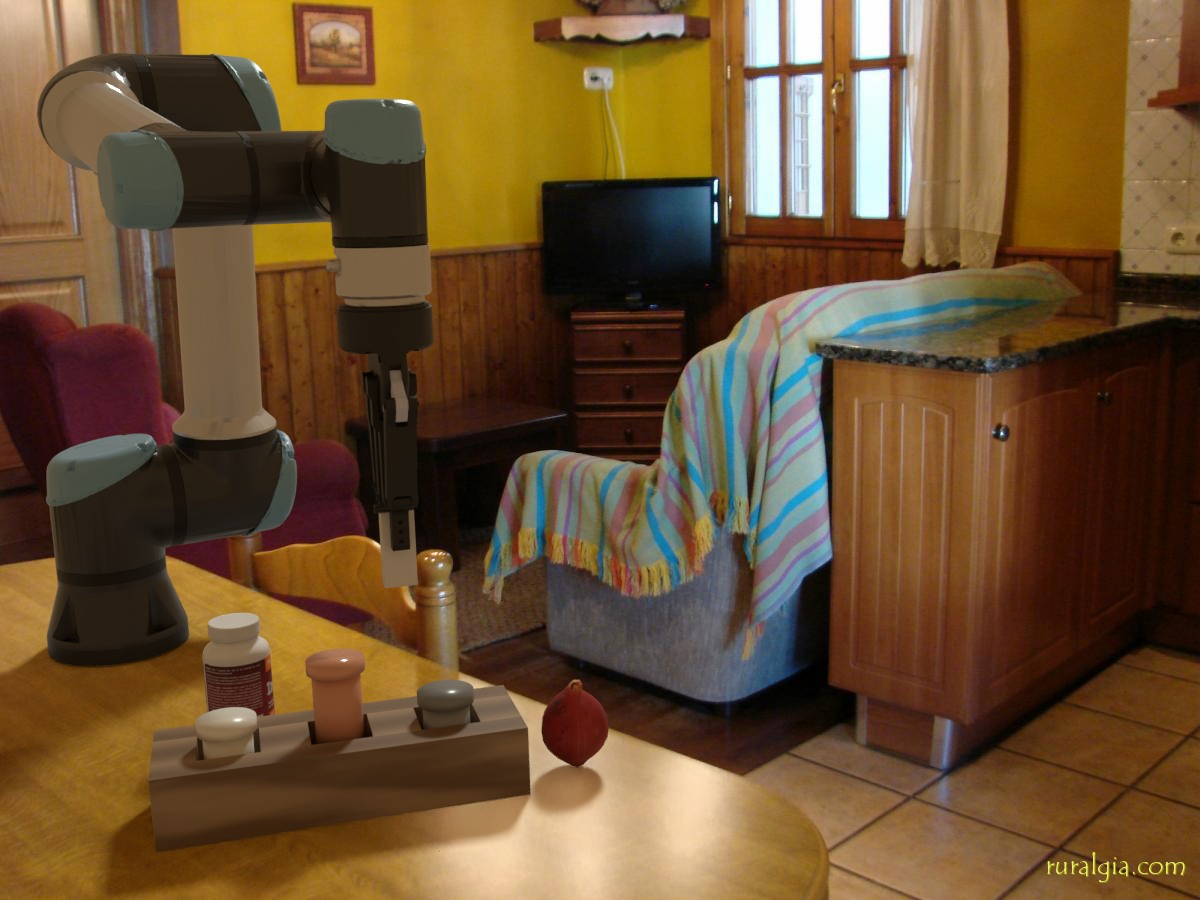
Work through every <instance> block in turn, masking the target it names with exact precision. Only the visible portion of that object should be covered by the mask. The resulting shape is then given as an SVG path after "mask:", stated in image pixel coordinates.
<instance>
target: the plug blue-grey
mask: <svg viewBox="0 0 1200 900" xmlns="http://www.w3.org/2000/svg"><path fill="white" fill-rule="evenodd" d="M474 689H475V688H474V686H473V685H472V684H471V683H470V682H467V681H465V680H464V681H463V680H459V679H441V680H439V679H438V680H435V681H431V682H428V683H425V684H423V685H422V686H421V685H420V687H419V688H417V690H416V696H417V704H418V706H419V707H420V708H421V709H423V727H424V730H425V729H432V728H440V727H447V726H454V725H461V724H469V723H470V705H471V704H472V703H473V702H474Z"/></svg>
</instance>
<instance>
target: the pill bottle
mask: <svg viewBox="0 0 1200 900" xmlns="http://www.w3.org/2000/svg"><path fill="white" fill-rule="evenodd" d="M260 632H261V624H260V618H259V616H258V615H256V614H255V613H251V612H233V613H232V612H231V613H226V614H222V615H218V616H215V617H213V618H211V619H210V620H209V621H208V622H207V635H208V638H209V640H211V641H210V642H208V643H207V644H206V646H204V648H203V651H202V655H201V656H202V666H203V667H202V668H203V670H202V671H203V679H204V689H205V690H204V692H205V699H206V701H205V702H206V713H207V712H210V711H213V710H217V709H221V708H229V707H243V708H248V709H251V710H253V711H255V713H256V715H257V717H261V716H268V715H276V708H275V707H276V706H275V697H274V686H273V673H272V658H271V648H270V644H269V643H268V641H267V640H266V639H265V638H263V637H262V636H259V634H260Z"/></svg>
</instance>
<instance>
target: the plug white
mask: <svg viewBox="0 0 1200 900" xmlns="http://www.w3.org/2000/svg"><path fill="white" fill-rule="evenodd" d="M195 725H196V734H197V737H198V738H199V739H200V740H202V742H203V753H204V760H207V759H214V758H221V757H228V756H236V755H243V754H250V753H255V751H254V740H253V733H254V732H255V731H256V729H257V715H256V713H255V711H253V710H251V709H248V708H243V707H229V708H221V709H217V710H213V711H210V712H207V711H206V713H203V714H201V715H200V716H198V717H197V718H196V720H195Z"/></svg>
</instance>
